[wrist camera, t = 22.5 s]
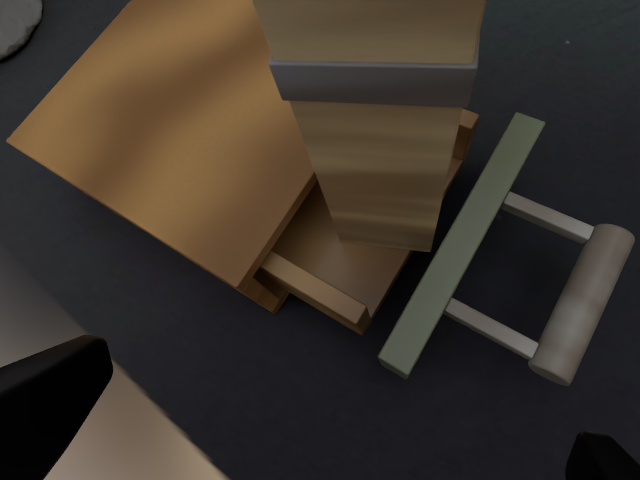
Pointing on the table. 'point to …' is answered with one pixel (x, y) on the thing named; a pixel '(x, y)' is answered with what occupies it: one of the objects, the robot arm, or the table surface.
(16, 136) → the cabinet
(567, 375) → the drawer
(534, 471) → the table surface
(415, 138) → the block
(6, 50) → the figurine
